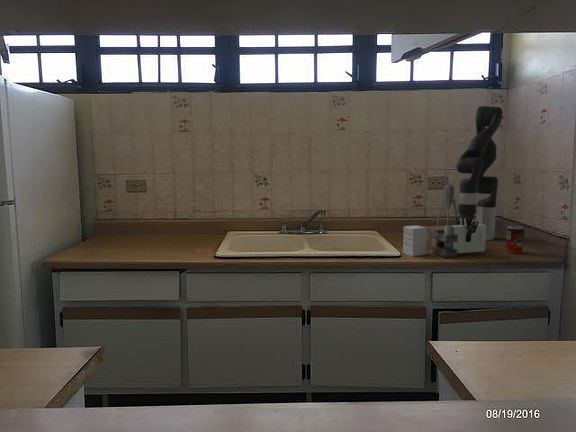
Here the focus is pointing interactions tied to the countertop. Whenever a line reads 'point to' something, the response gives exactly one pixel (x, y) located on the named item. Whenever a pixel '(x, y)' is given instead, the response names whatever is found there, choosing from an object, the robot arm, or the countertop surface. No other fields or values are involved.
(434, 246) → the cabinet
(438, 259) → the countertop surface
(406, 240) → the supplement box
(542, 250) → the countertop surface
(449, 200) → the citrus juicer
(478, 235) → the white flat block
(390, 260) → the countertop surface
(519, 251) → the soda can
